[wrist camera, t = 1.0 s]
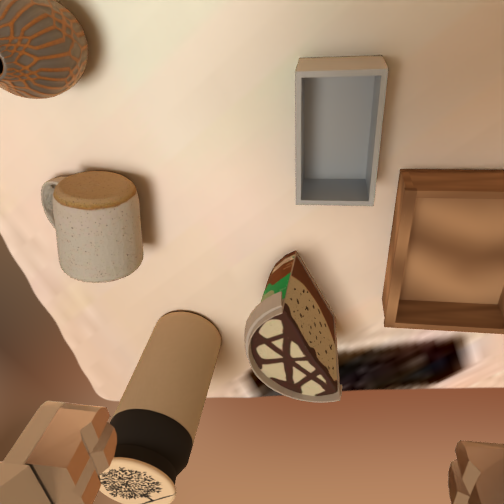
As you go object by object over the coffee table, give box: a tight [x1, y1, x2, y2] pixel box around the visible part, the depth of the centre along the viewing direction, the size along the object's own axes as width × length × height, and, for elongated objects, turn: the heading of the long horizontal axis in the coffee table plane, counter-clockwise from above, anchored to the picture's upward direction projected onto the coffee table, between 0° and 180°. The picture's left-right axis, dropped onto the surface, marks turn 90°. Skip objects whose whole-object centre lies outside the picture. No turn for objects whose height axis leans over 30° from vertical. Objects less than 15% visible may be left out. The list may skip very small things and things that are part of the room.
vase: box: [0, 0, 88, 99], centre depth 31 cm, size 7×7×9 cm
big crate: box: [382, 169, 504, 334], centre depth 38 cm, size 14×12×4 cm
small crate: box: [295, 55, 388, 206], centre depth 33 cm, size 10×6×4 cm, turn 3°
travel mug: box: [99, 312, 221, 504], centre depth 44 cm, size 8×8×18 cm
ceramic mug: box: [41, 171, 143, 283], centre depth 40 cm, size 11×8×8 cm
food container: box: [245, 251, 342, 402], centre depth 42 cm, size 12×6×10 cm, turn 30°
